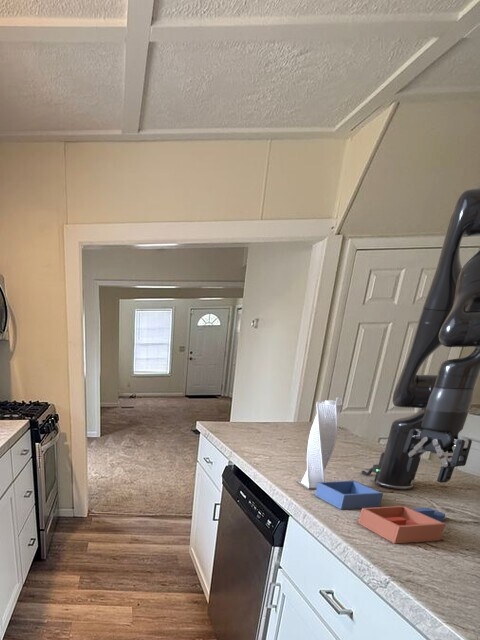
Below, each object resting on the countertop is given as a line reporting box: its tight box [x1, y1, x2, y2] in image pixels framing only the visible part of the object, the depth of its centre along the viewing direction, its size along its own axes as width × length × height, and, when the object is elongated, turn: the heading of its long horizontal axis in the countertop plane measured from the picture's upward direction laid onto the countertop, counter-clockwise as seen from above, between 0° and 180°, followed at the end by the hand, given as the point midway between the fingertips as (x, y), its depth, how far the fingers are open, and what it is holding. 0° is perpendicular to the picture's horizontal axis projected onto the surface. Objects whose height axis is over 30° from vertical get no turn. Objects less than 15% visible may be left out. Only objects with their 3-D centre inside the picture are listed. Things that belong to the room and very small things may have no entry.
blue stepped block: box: [412, 507, 446, 522], centre depth 101 cm, size 9×4×3 cm, turn 97°
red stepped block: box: [385, 517, 417, 526], centre depth 95 cm, size 9×4×3 cm, turn 97°
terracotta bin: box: [357, 505, 447, 544], centre depth 95 cm, size 11×11×4 cm
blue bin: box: [314, 480, 384, 510], centre depth 114 cm, size 11×11×4 cm
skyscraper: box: [298, 395, 343, 490], centre depth 122 cm, size 8×8×28 cm
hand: (426, 476), depth 97 cm, fingers open, 8 cm apart
